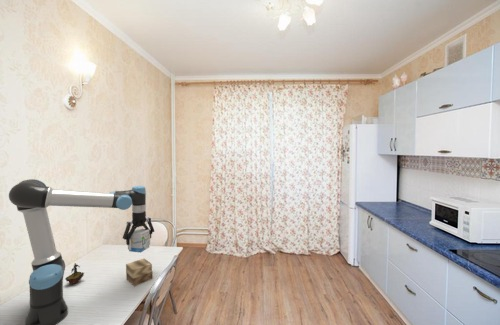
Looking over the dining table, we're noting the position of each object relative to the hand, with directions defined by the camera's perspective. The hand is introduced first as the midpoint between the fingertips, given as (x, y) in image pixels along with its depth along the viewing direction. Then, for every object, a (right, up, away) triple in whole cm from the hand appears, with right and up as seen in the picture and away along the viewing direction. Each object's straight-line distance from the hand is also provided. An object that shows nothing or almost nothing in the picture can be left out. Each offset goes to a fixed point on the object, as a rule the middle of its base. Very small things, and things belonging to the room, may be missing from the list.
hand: (139, 246), depth 144 cm
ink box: (0, -2, 0) cm, 2 cm away
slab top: (0, -16, 0) cm, 16 cm away
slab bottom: (0, -21, +1) cm, 21 cm away
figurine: (-36, -20, -5) cm, 42 cm away
